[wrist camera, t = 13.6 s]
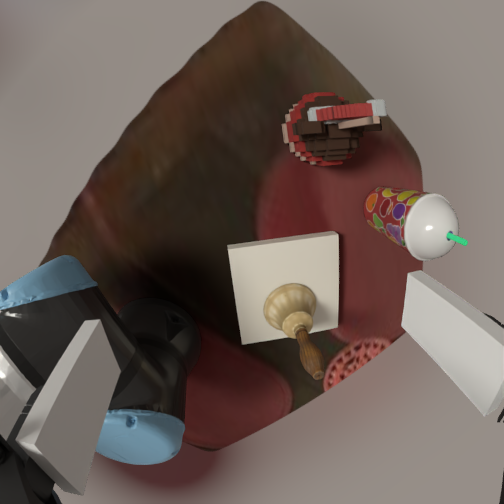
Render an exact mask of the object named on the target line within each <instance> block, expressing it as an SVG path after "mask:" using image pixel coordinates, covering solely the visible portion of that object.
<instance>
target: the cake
mask: <svg viewBox="0 0 504 504" xmlns="http://www.w3.org/2000/svg"><path fill="white" fill-rule="evenodd" d="M293 108H294V109H290V110H289V113H290V114H286V115H285V118H286V124H282V131H283V138H284V143H289V147H290V152H295V156H300V159H301V161H304V160H306V161H310V164H316V165H320V166H327V165H337V164H343V162H342V159H346V158H351V153H356V152H355V148H359V147H360V146H359V137H363V132H362V131H381V130H382V125H381V119H379V117H384V116H387V112H386V106H385V100H369V101H367V103H358V104H349V101H344V97H338V96H335V93H333V92H327V93H310V94H306V95H304V96H303V97H302V100H300V101H299V102H298V104H294V105H293Z"/></svg>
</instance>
